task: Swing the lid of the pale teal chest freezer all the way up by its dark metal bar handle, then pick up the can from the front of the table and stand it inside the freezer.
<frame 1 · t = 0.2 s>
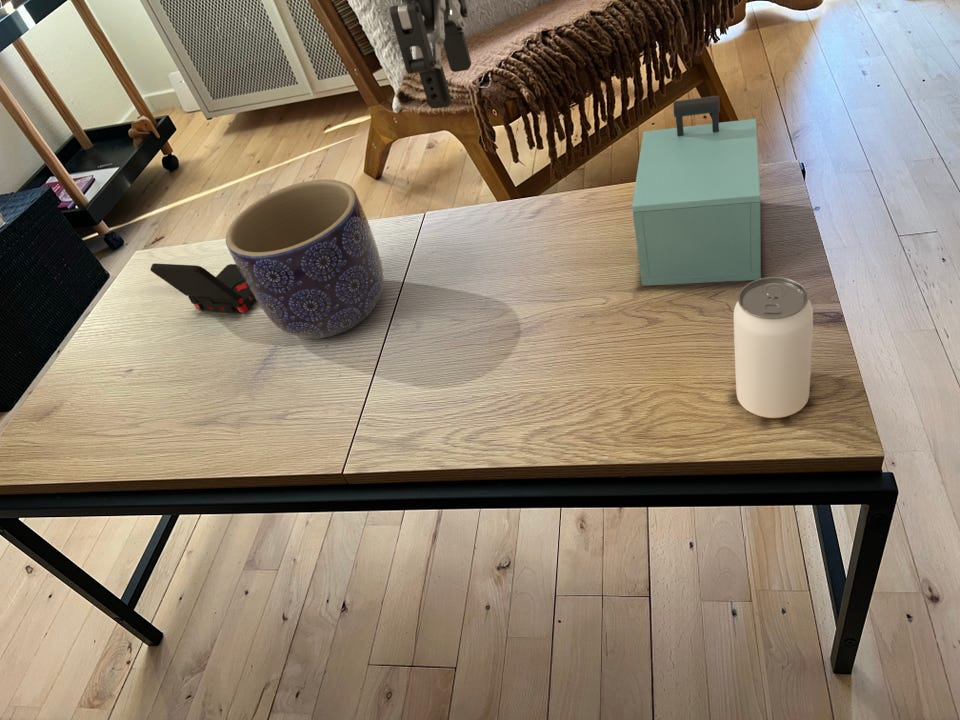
hand: (451, 87, 79), 26 cm above the table, tool pointing down, fingers open, 8 cm apart
black phone stand: (233, 299, 111), on the table
planter: (335, 312, 102), on the table
freezer: (701, 242, 94), on the table
can: (772, 397, 74), on the table
freezer lid: (695, 146, 86), point 13 cm above the table, hinge at 0.0°
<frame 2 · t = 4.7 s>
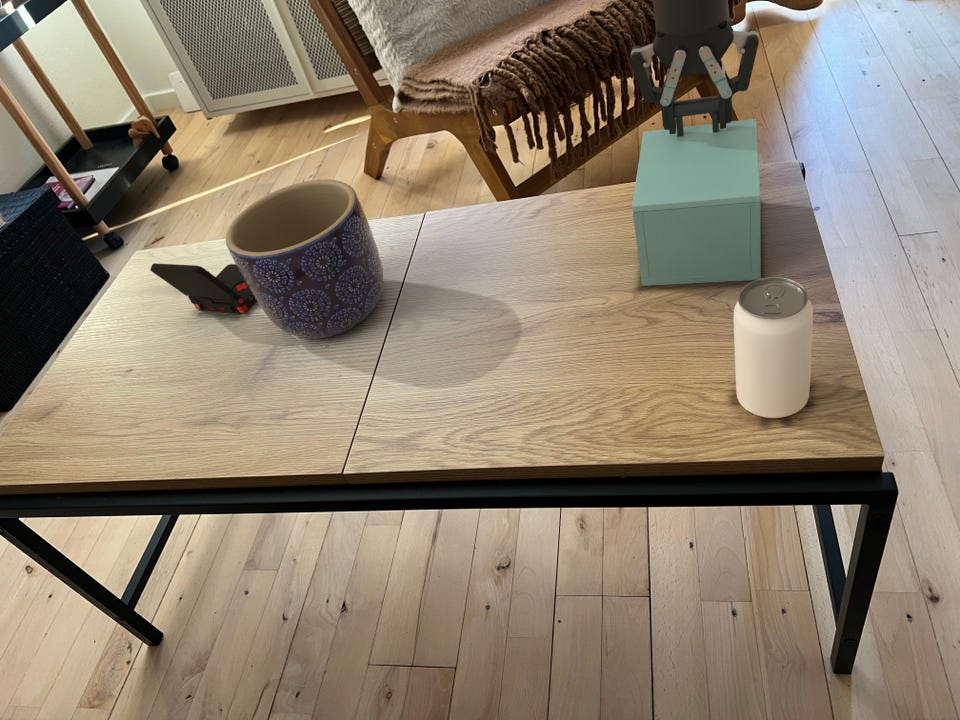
hand: (698, 127, 91), 12 cm above the table, tool pointing down, fingers closed on freezer lid, 5 cm apart
freezer lid: (695, 146, 86), point 13 cm above the table, hinge at -0.1°, touching gripper
everything else where it was.
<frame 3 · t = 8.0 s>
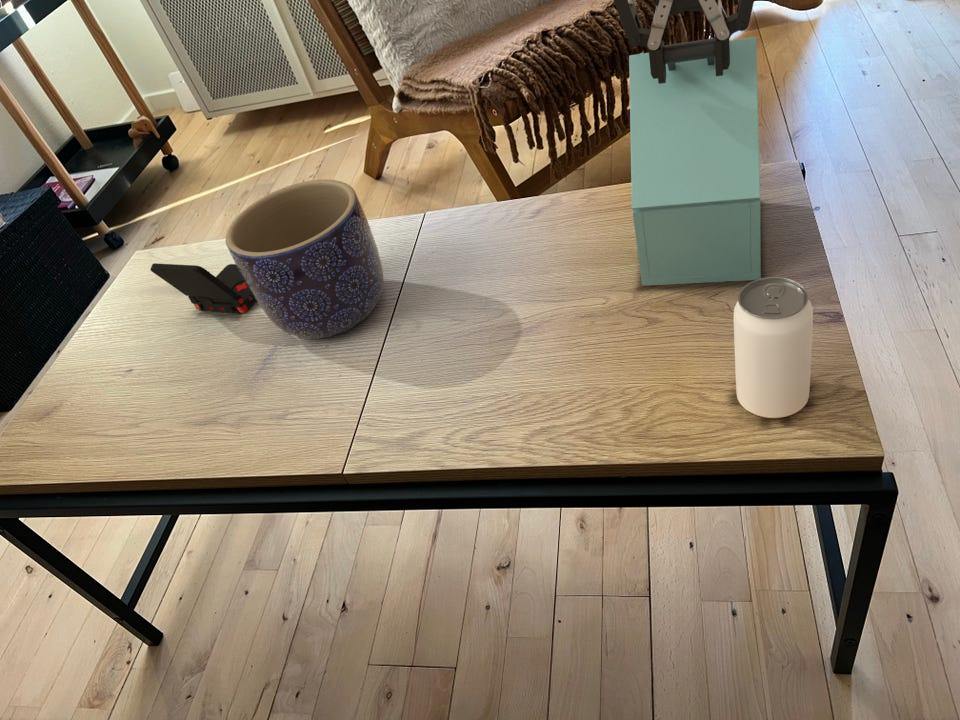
hand: (690, 75, 80), 21 cm above the table, tool pointing down, fingers closed on freezer lid, 5 cm apart
freezer lid: (691, 118, 80), point 18 cm above the table, hinge at 44.2°, touching gripper
everything else where it was.
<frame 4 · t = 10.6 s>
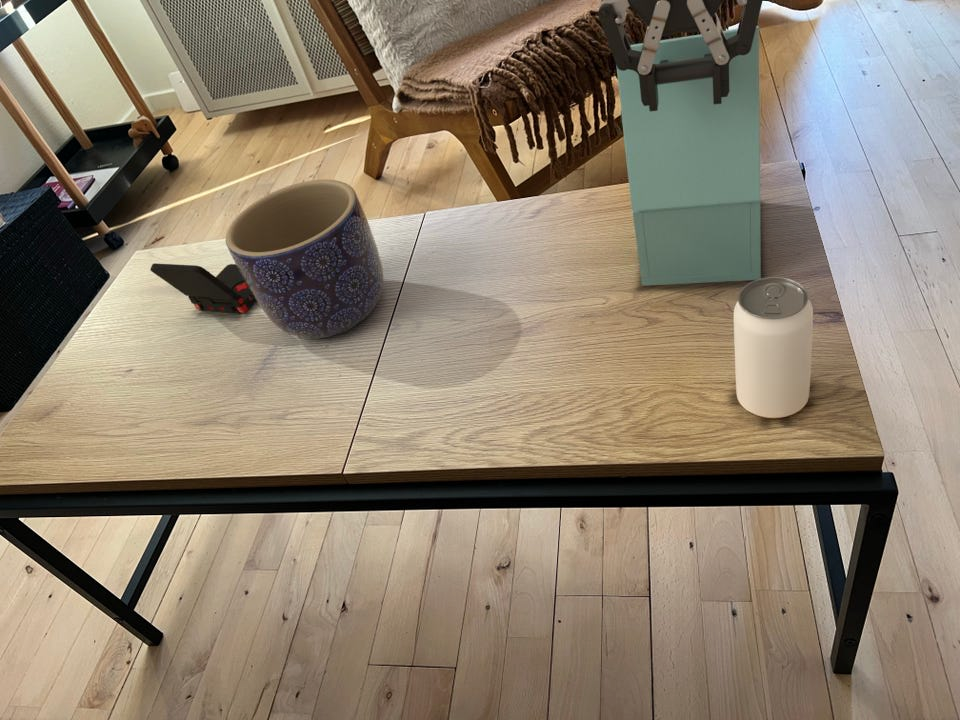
hand: (685, 103, 72), 23 cm above the table, tool pointing down, fingers closed on freezer lid, 5 cm apart
freezer lid: (689, 133, 76), point 19 cm above the table, hinge at 82.0°, touching gripper
everything else where it was.
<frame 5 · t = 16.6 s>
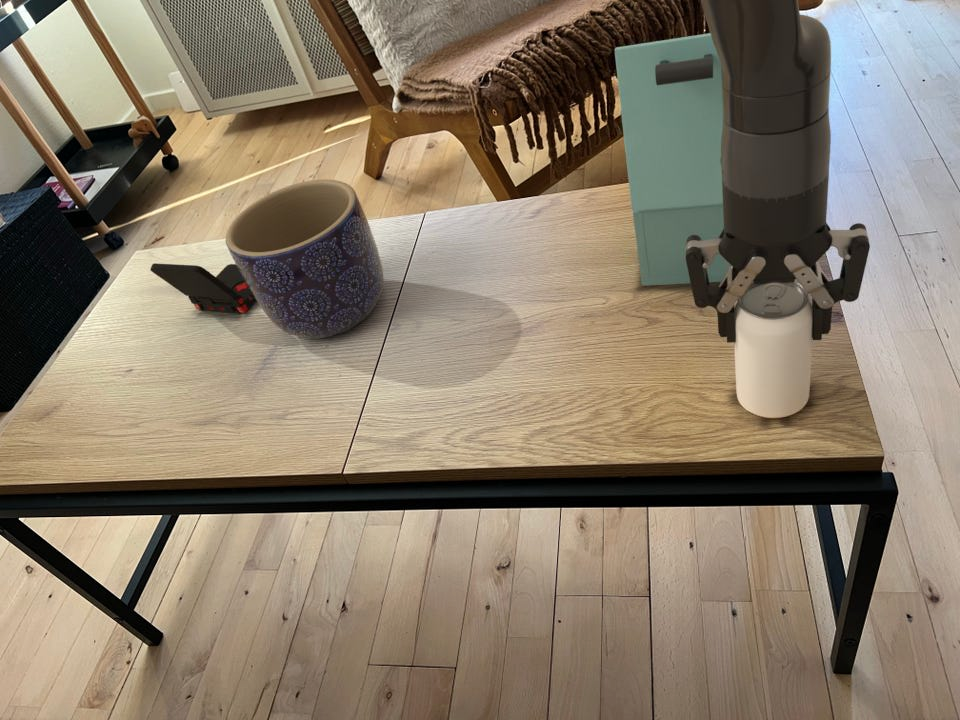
hand: (773, 335, 69), 8 cm above the table, tool pointing down, fingers closed on can, 6 cm apart
can: (772, 397, 74), on the table, touching gripper
freezer lid: (689, 133, 76), point 19 cm above the table, hinge at 82.4°
everything else where it was.
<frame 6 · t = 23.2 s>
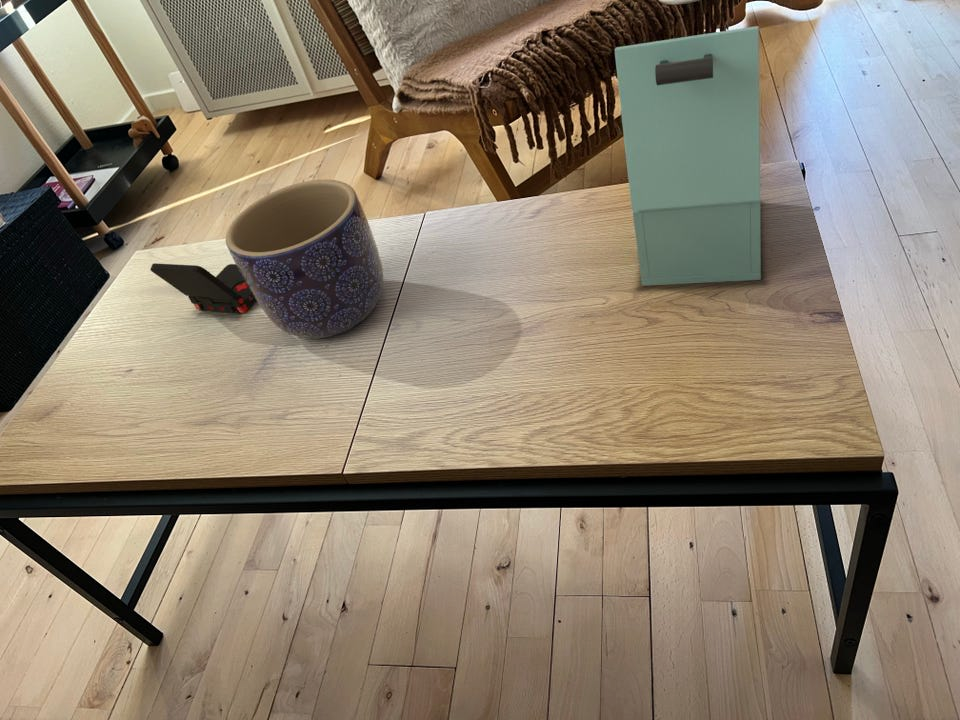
when the fingers open (9 cm above the table, at t = 29.7 s): can stays where it is, resting on freezer.
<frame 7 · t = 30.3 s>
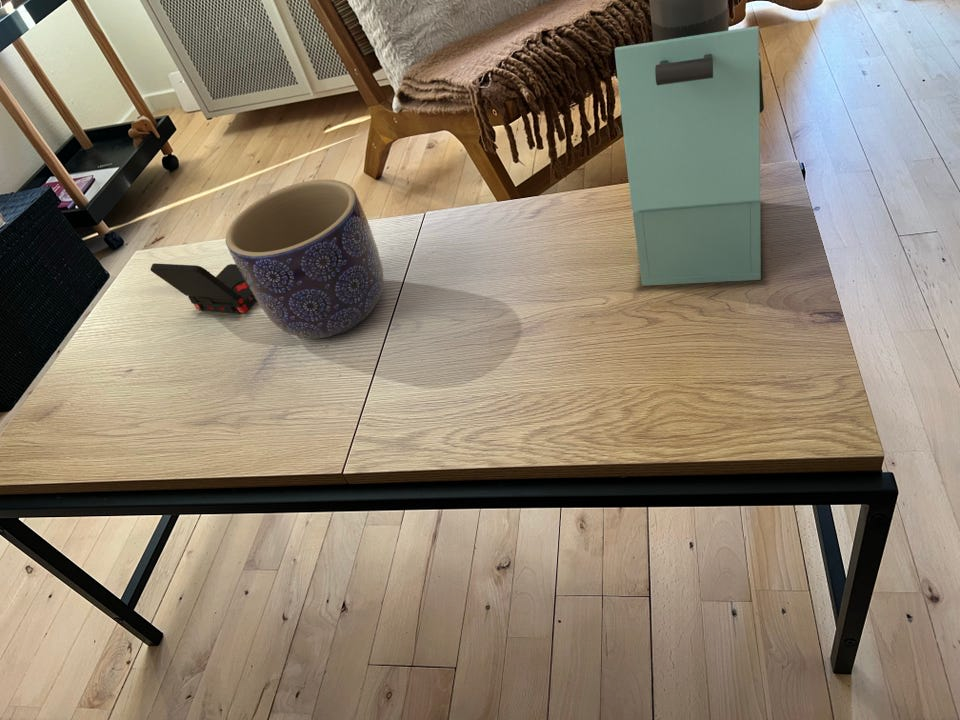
hand: (697, 152, 89), 10 cm above the table, tool pointing down, fingers open, 8 cm apart
can: (701, 223, 96), point 1 cm above the table, touching freezer
everything else where it was.
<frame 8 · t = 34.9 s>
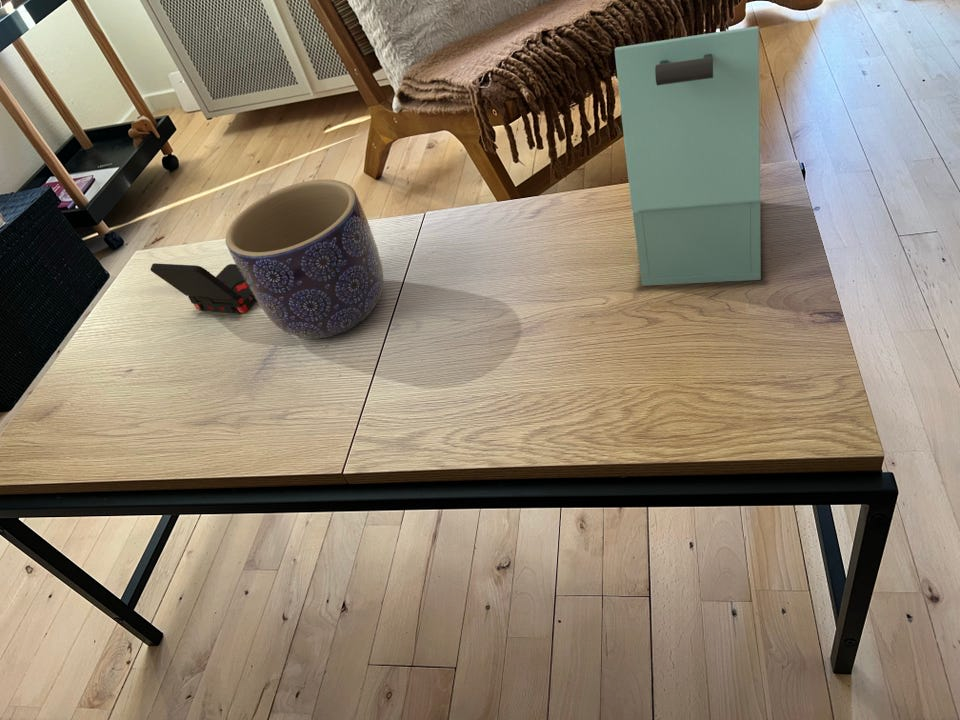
nothing on the table moved.
at the end: freezer lid at +82° (first picture: +0°); can inside the target area in the freezer (2.9 cm from its centre), point 0.8 cm above the freezer's base; can tilted 0° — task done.
